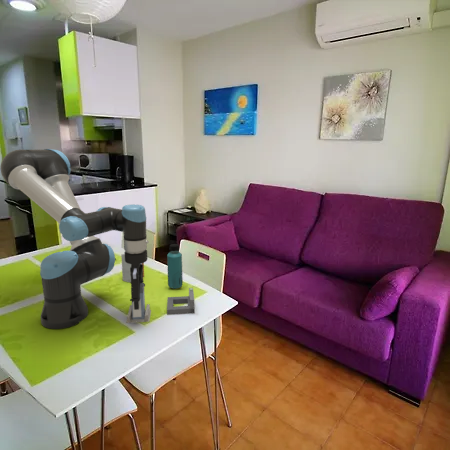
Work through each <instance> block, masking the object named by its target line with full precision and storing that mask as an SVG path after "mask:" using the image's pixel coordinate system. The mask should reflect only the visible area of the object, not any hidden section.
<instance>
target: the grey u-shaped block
mask: <svg viewBox="0 0 450 450" xmlns="http://www.w3.org/2000/svg"><path fill="white" fill-rule="evenodd" d="M151 314H152V310H151V309H150V304H149V303H148V304H146V305H145V317H144V319H133V316H132V304H131V305H129V308H128V313H127V316H126V322H125V323H126V324H129V323H130V324H131V323H134V324H135V323H147V322H150V321H151V320H150V319H151Z"/></svg>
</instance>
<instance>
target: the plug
mask: <svg viewBox="0 0 450 450" xmlns="http://www.w3.org/2000/svg"><path fill="white" fill-rule="evenodd" d="M144 284H145V283H144V282H143V283H140V299H141V317H133V319H144V317H145V310H146V302H145V297H146V296H145V287H144ZM131 305H132V316H133V304H132V303H131Z"/></svg>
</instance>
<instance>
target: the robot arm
mask: <svg viewBox="0 0 450 450" xmlns="http://www.w3.org/2000/svg"><path fill="white" fill-rule="evenodd" d="M71 169H72V168H71V163H70V160H69V159H68V157H67V156H66V154H65V153H63V152H62V151H60V150H58V149H51V148H44V149H23V148H22V149H15V150H12V151H10V152H8V153H7V154H6V155H5V156H4V157H3V158H2V160H1V163H0V173H1V176H2V178H3V179H4V181H5V182H6V184H8V185H9V186H11V188H13V189H15V190H19V191H21V192H22V193H23V194H24V195H26V196H27V197H28V198H29V199H30V200H31V201H32V202H33V203H35V204H36V205H38V207H40V208H41V209H42V210H43V212H44V211H45V213H47V214H48V215H49V216H50V217H51V218H52V219H54V220H55V221H56V222H57V223H58V229H59V233H60V234H61V235H62V236H61V237H62V238H63V240H66V241H67V242H69V244H70V245H71V246H70V249H69V250H63V251H56V252H53V253H51V254H49V255H47V256H45V257H44V258H43V259H42V261H41V262H40V264H39V265H40V272H39V274H40V277H41V278H40V279H41V284H42V291H43V293H42V294H43V298H44V299H43V300H44V302H43V306H42V310H41V315H40V323H41V325H42V326H43V327H45V328H47V329H51V330H61V329H66V328H70V327H71V328H72V327H73V326H76V325H78V324H79V323H80V322H82V321H83V320H85V319H86V318H87V317H88V315H89V309H88V305H87V303H86V301H85V299H84V297H83V295H82V290H81V287H82V285H84V284H86V283H88V282H90V281H92V280H95V279H97V278H100V277H104V276H105V275H107V274H108V273H110V272H111V271H113V269H114V267H115V263H116V254H115V252H114V250H113V247H111V245H109V244H107V243H103V242H102V241H101V239H100V238H99V237H97V235H101V234H104V233H108V232H111V231H117V232H122V234H123V250H124V253H125V262H126V263H128V264H131V268H130V272H131V274H130V275H131V282H130V285H131V286H130V295H131V298H129V301H130V302H131V305H132V304H133V317H141V299H140V283H144V277H143V264H142V263H146V262H147V261H148V250H147V249H148V245H147V244H149V240H147V213H146V208H145V206H144V205H142V204H127V205H126V204H125V205H123V206H122V207H121V209H120V208H114V207H111V206H103V207H102V206H101V207H100V208H98V209H97V210H96V211H91V212H87V213H85V212H84V211H83V210H82V209H81V207H80V205H79V203H78V200H77V198H76V196H75V195H74V193H73V191H72V188H71V187H70V185H69V180H70V174H71ZM145 287H146V283H144V288H145Z"/></svg>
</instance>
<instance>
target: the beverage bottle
mask: <svg viewBox="0 0 450 450" xmlns="http://www.w3.org/2000/svg"><path fill="white" fill-rule="evenodd" d="M166 257H167V285H168V288H171V289H180V288H181V287H182V286H183V283H184V282H183V280H184V279H183V255H182V253H181V251H180V246H179V244H178V243H171V244H170V245H169V252H168V254H167V256H166Z"/></svg>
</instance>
